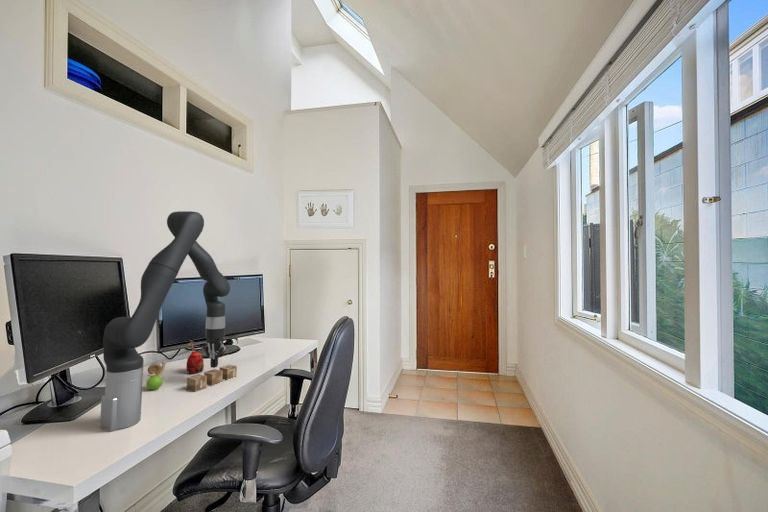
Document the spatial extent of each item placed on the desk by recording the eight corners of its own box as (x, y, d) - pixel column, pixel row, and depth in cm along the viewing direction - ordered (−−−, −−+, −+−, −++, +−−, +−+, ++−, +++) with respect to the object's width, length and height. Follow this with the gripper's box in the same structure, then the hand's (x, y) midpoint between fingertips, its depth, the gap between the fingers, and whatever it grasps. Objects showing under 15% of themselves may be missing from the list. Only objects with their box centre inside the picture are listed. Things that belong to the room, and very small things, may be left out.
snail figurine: (166, 388, 131) (168, 358, 131) (147, 393, 126) (149, 362, 127) (163, 385, 135) (164, 356, 135) (144, 389, 130) (146, 359, 130)
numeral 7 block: (227, 380, 142) (227, 368, 142) (219, 378, 144) (219, 367, 144) (236, 377, 146) (237, 365, 147) (228, 375, 149) (229, 364, 149)
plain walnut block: (211, 386, 135) (212, 374, 135) (203, 384, 137) (204, 372, 137) (222, 382, 140) (222, 370, 140) (214, 380, 142) (214, 369, 142)
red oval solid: (196, 374, 148) (198, 341, 149) (181, 374, 148) (183, 341, 149) (206, 369, 156) (208, 338, 156) (192, 369, 156) (193, 337, 156)
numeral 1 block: (195, 392, 128) (195, 379, 128) (186, 390, 130) (187, 377, 130) (206, 388, 133) (207, 375, 133) (198, 386, 135) (198, 373, 135)
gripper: (196, 326, 138) (195, 367, 138) (218, 329, 133) (217, 372, 133) (212, 323, 145) (211, 362, 145) (233, 326, 140) (232, 366, 140)
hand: (214, 367), depth 139 cm, fingers closed
